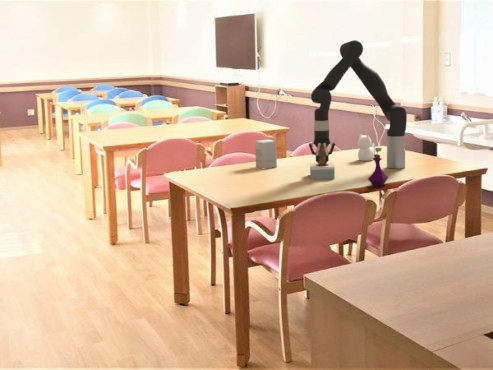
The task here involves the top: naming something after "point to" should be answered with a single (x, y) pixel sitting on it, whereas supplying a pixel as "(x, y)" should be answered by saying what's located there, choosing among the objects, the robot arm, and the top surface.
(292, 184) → the top surface
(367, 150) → the cat figurine
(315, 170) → the grey box cream lid
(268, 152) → the supplement box
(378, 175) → the perfume bottle
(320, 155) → the walnut peg
